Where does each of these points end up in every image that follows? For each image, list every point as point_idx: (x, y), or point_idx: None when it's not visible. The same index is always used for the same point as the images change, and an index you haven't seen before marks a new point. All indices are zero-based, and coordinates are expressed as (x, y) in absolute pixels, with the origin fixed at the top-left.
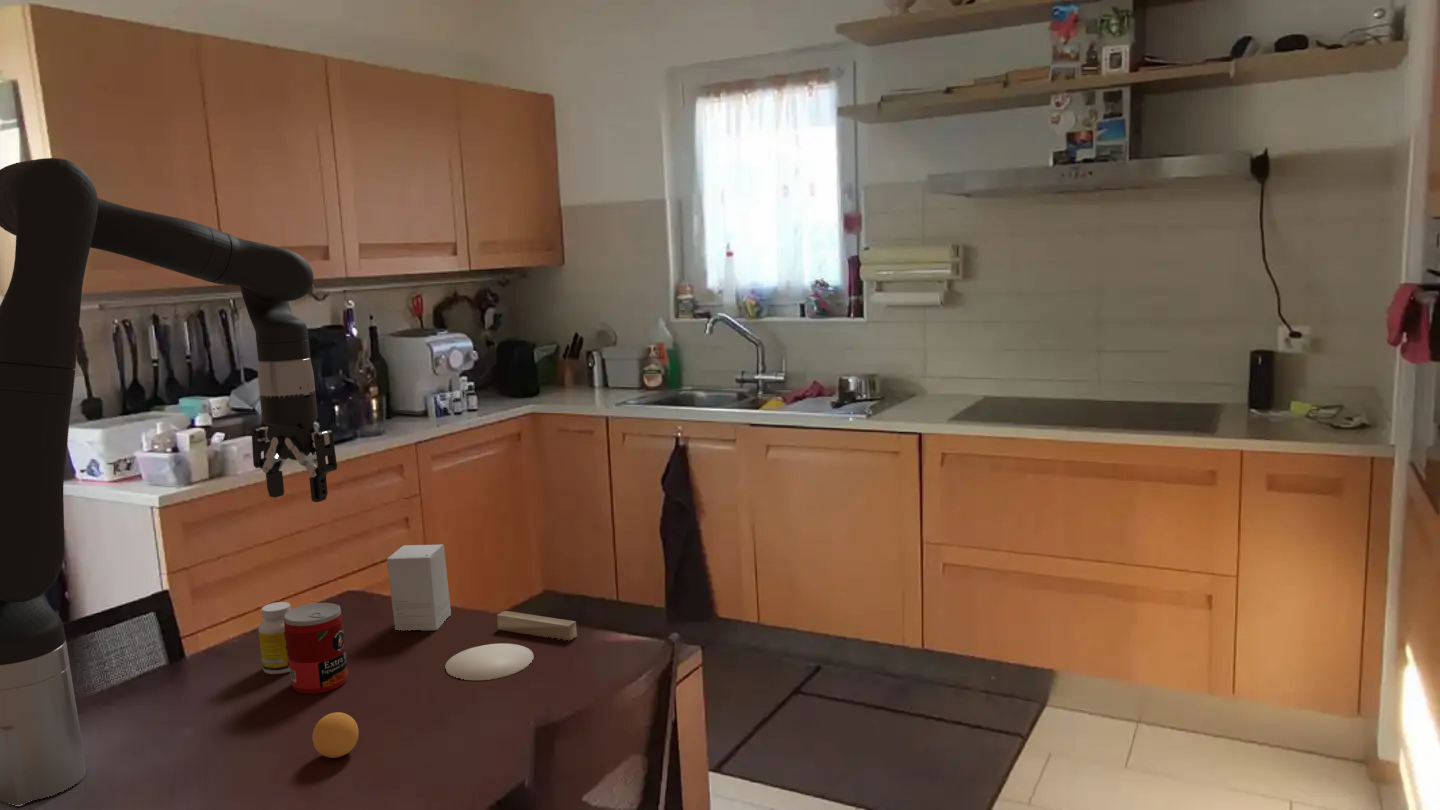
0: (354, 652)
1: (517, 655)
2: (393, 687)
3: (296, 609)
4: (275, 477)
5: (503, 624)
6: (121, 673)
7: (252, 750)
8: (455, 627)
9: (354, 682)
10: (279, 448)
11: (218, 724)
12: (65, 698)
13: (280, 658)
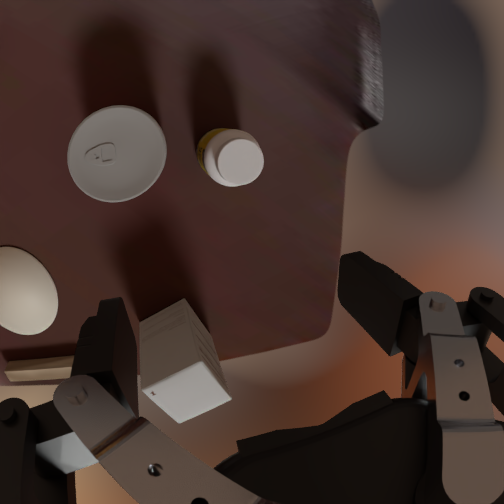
0: (173, 230)
1: (7, 316)
2: (39, 190)
3: (158, 148)
4: (384, 312)
5: None
6: (380, 72)
7: (59, 10)
8: None
9: None
10: (427, 441)
11: (149, 17)
12: None
13: (203, 138)
